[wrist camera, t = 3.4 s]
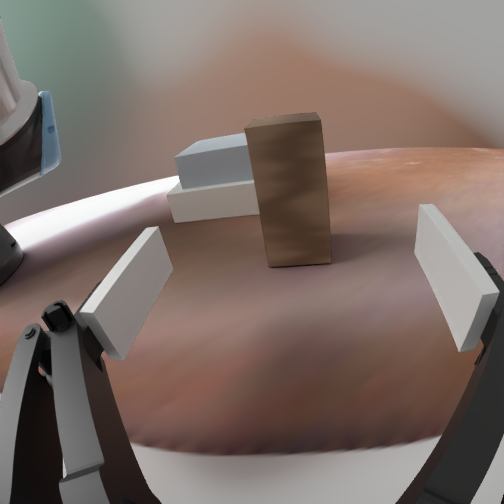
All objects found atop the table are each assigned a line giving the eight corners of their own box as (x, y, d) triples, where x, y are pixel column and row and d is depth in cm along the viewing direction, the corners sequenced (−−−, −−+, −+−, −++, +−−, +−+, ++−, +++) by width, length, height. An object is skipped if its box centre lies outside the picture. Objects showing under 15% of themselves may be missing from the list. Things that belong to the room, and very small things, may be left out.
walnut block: (268, 267, 24) (244, 128, 19) (273, 236, 28) (254, 118, 23) (331, 262, 23) (320, 119, 18) (326, 232, 27) (315, 112, 22)
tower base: (175, 225, 36) (166, 195, 34) (202, 189, 46) (196, 165, 44) (273, 215, 33) (268, 181, 31) (279, 179, 43) (275, 154, 41)
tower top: (182, 189, 34) (174, 157, 32) (203, 167, 42) (198, 140, 40) (257, 179, 32) (251, 144, 30) (265, 158, 40) (261, 130, 38)
